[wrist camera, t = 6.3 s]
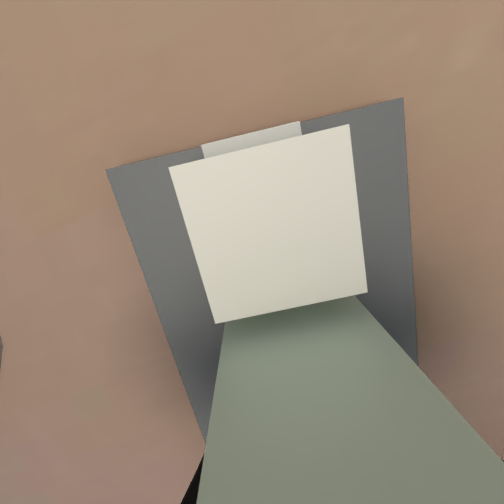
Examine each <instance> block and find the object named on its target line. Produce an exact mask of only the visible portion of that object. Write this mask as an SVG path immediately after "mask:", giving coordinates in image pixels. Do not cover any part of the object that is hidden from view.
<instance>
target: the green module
mask: <svg viewBox="0 0 504 504" xmlns="http://www.w3.org/2000/svg"><path fill="white" fill-rule="evenodd" d="M196 504H504V462H503V461H502V460H501V459H500V457H499V456H498V455H497V454H496V453H495V452H494V451H493V450H492V448H491V447H490V446H489V445H488V444H487V443H486V442H485V441H484V440H483V438H482V437H481V436H480V435H479V434H478V433H477V432H476V431H475V429H474V428H473V427H472V426H471V425H470V424H469V423H468V422H467V421H466V419H465V418H464V417H463V416H462V415H461V414H460V413H459V412H458V410H457V409H456V408H455V407H454V406H453V405H452V404H451V403H450V402H449V400H448V399H447V398H446V397H445V396H444V395H443V394H442V393H441V391H440V390H439V389H438V388H437V387H436V386H435V385H434V384H433V383H432V381H431V380H430V379H429V378H428V377H427V376H426V375H425V374H424V372H423V371H422V370H421V369H420V368H419V367H418V366H417V365H416V364H415V362H414V361H413V360H412V359H411V358H410V357H409V356H408V355H407V353H406V352H405V351H404V350H403V349H402V348H401V347H400V346H399V345H398V343H397V342H396V341H395V340H394V339H393V338H392V337H391V336H390V334H389V333H388V332H387V331H386V330H385V329H384V328H383V327H382V326H381V324H380V323H379V322H378V321H377V320H376V319H375V318H374V317H373V315H372V314H371V313H370V312H369V311H368V310H367V309H366V308H365V307H364V305H363V304H362V303H361V302H360V301H359V300H358V299H357V298H356V296H355V295H353V296H348V297H343V298H338V299H333V300H328V301H324V302H319V303H314V304H309V305H304V306H299V307H295V308H290V309H285V310H280V311H275V312H270V313H266V314H261V315H256V316H251V317H246V318H241V319H237V320H232V321H227V322H225V327H224V333H223V339H222V346H221V352H220V358H219V365H218V371H217V377H216V383H215V390H214V396H213V402H212V409H211V415H210V421H209V428H208V434H207V440H206V446H205V453H204V459H203V465H202V472H201V478H200V484H199V491H198V497H197V503H196Z"/></svg>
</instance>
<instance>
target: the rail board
mask: <svg viewBox="0 0 504 504" xmlns="http://www.w3.org/2000/svg"><path fill="white" fill-rule="evenodd" d="M106 173H107V176H108V179H109V181H110V184H111V187H112V189H113V192H114V195H115V198H116V200H117V203H118V206H119V209H120V211H121V214H122V217H123V220H124V222H125V225H126V228H127V230H128V233H129V236H130V239H131V241H132V244H133V247H134V250H135V252H136V255H137V258H138V261H139V263H140V266H141V269H142V271H143V274H144V277H145V280H146V282H147V285H148V288H149V291H150V293H151V296H152V299H153V302H154V304H155V307H156V310H157V312H158V315H159V318H160V321H161V323H162V326H163V329H164V332H165V334H166V337H167V340H168V342H169V345H170V348H171V351H172V353H173V356H174V359H175V362H176V364H177V367H178V370H179V373H180V375H181V378H182V381H183V383H184V386H185V389H186V392H187V394H188V397H189V400H190V403H191V405H192V408H193V411H194V414H195V416H196V419H197V422H198V424H199V427H200V430H201V433H202V435H203V438H204V441H205V444H206V440H207V434H208V428H209V421H210V415H211V409H212V402H213V396H214V390H215V383H216V377H217V371H218V365H219V358H220V352H221V346H222V339H223V333H224V327H225V322H227V321H232V320H237V319H241V318H246V317H251V316H256V315H261V314H266V313H270V312H275V311H280V310H285V309H290V308H295V307H299V306H304V305H309V304H314V303H319V302H324V301H328V300H333V299H338V298H343V297H348V296H353V295H355V296H356V298H357V299H358V300H359V301H360V302H361V303H362V304H363V305H364V307H365V308H366V309H367V310H368V311H369V312H370V313H371V314H372V315H373V317H374V318H375V319H376V320H377V321H378V322H379V323H380V324H381V326H382V327H383V328H384V329H385V330H386V331H387V332H388V333H389V334H390V336H391V337H392V338H393V339H394V340H395V341H396V342H397V343H398V345H399V346H400V347H401V348H402V349H403V350H404V351H405V352H406V353H407V355H408V356H409V357H410V358H411V359H412V360H413V361H414V362H415V364H416V365H417V366H418V353H417V335H416V317H415V299H414V281H413V263H412V245H411V227H410V209H409V191H408V173H407V155H406V137H405V119H404V101H403V98H399V99H394V100H390V101H386V102H382V103H378V104H374V105H370V106H366V107H362V108H357V109H353V110H349V111H345V112H341V113H337V114H333V115H329V116H325V117H320V118H316V119H312V120H308V121H304V122H300V121H297V122H293V123H289V124H284V125H280V126H276V127H272V128H268V129H264V130H260V131H256V132H252V133H248V134H243V135H239V136H235V137H231V138H227V139H223V140H219V141H215V142H211V143H207V144H202V145H201V147H197V148H193V149H189V150H185V151H181V152H177V153H173V154H169V155H164V156H160V157H156V158H152V159H148V160H144V161H140V162H136V163H132V164H127V165H123V166H119V167H115V168H111V169H107V170H106Z"/></svg>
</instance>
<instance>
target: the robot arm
mask: <svg viewBox="0 0 504 504" xmlns="http://www.w3.org/2000/svg"><path fill="white" fill-rule="evenodd" d="M203 459H204V455H203V457H202V460H201V462H200V464H199V466H198V469H197V471H196V473H195V475H194V477H193V479H192V481H191V483H190V486H189V488H188V490H187V492H186V494H185V496H184V498H183V500H182V502H181V504H196V503H197V497H198V491H199V484H200V478H201V472H202V465H203ZM500 459H501V458H500ZM501 460H502V459H501ZM502 461H503V460H502ZM503 462H504V461H503Z"/></svg>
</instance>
